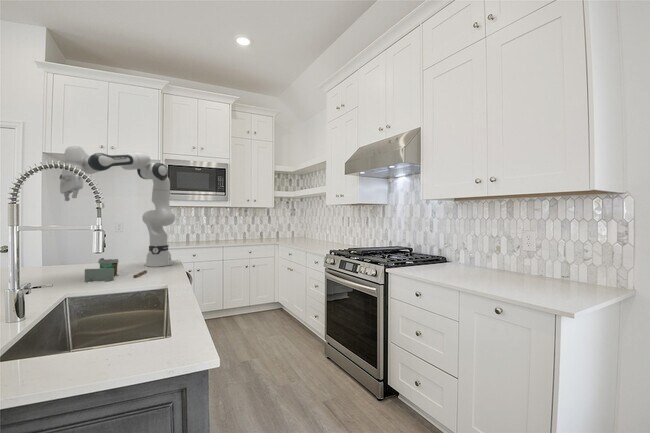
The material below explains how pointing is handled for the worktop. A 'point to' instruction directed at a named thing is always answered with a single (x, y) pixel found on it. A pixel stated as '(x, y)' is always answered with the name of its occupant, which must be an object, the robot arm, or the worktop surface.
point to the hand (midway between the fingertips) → (70, 199)
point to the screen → (99, 275)
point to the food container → (109, 264)
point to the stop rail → (140, 273)
